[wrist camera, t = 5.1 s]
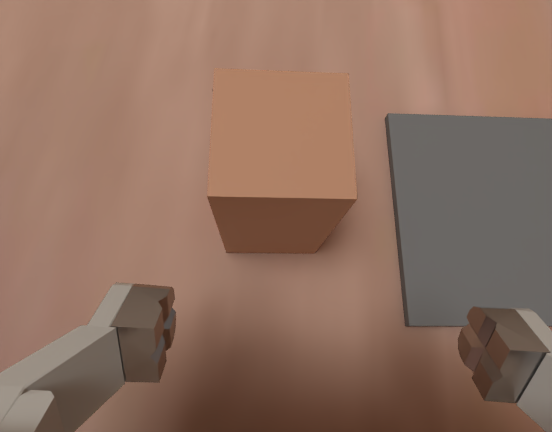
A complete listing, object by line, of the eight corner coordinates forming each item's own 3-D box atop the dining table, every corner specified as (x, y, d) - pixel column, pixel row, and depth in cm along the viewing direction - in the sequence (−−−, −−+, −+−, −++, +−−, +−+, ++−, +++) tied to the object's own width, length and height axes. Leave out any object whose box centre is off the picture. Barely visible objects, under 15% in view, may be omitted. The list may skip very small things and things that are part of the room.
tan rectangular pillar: (314, 253, 23) (357, 199, 14) (226, 252, 23) (207, 196, 13) (311, 172, 25) (348, 73, 15) (229, 170, 24) (214, 68, 15)
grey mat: (629, 326, 23) (638, 326, 22) (405, 326, 22) (409, 325, 22) (575, 124, 27) (582, 119, 26) (385, 118, 26) (388, 113, 26)
